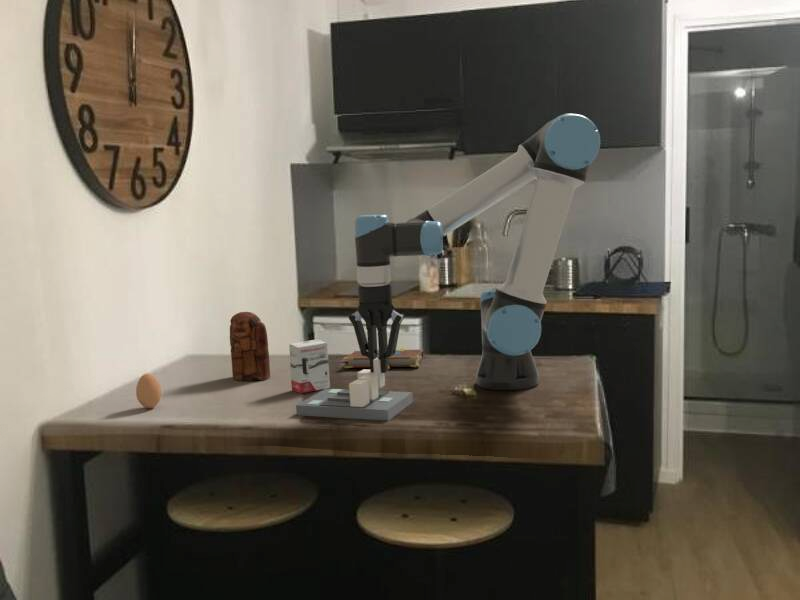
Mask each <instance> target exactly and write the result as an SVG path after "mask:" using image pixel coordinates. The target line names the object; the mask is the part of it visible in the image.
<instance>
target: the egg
mask: <svg viewBox="0 0 800 600" xmlns="http://www.w3.org/2000/svg"><path fill="white" fill-rule="evenodd" d="M135 395H136V399H137V401H138V403H139V404H140V405H141V406H142V407H144V408H145V409H153V408H155V407H156V406H157V405H158V404H159V403H160V401H161V398H162V386H161V384H160V382H159V380H158V379H157V378H156V376H155V375H154V374H151V373H144V374H143V375H141V377H139V380H138V381H137V385H136V387H135Z"/></svg>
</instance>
